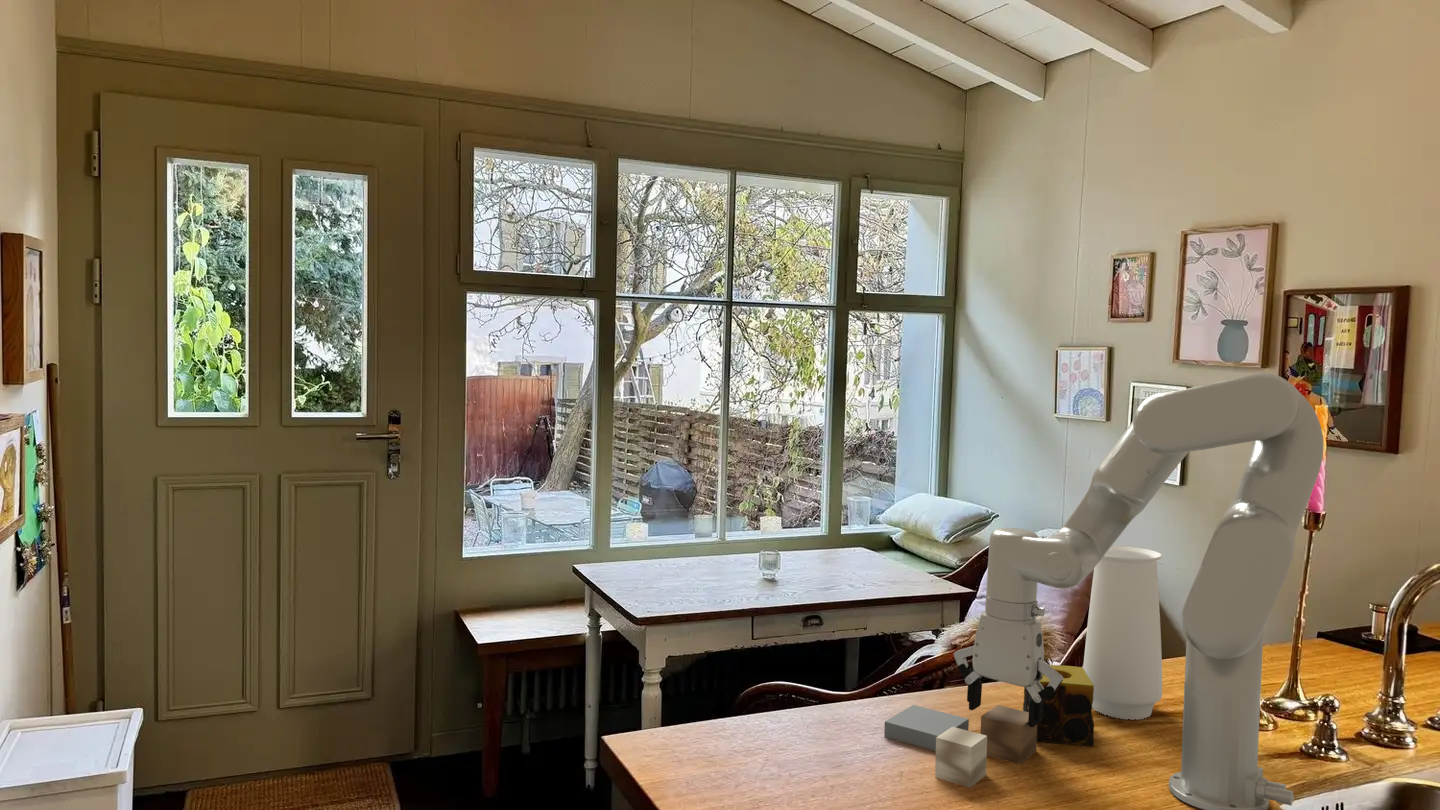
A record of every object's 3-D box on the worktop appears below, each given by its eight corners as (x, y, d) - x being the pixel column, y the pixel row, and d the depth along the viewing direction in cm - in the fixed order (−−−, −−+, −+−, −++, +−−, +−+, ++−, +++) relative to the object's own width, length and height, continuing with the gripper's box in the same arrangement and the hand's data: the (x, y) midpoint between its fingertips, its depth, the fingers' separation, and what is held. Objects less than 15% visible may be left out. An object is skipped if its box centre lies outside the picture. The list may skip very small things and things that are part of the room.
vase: (1170, 725, 165) (1176, 561, 164) (1090, 720, 167) (1095, 557, 166) (1149, 699, 178) (1154, 546, 176) (1075, 694, 180) (1079, 543, 178)
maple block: (986, 775, 145) (987, 735, 144) (970, 788, 140) (971, 747, 140) (951, 765, 148) (952, 726, 148) (935, 777, 144) (936, 737, 143)
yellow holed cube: (1094, 748, 155) (1096, 686, 155) (1028, 742, 157) (1029, 681, 157) (1083, 724, 165) (1085, 666, 165) (1021, 719, 167) (1023, 661, 167)
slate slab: (968, 733, 160) (968, 718, 160) (941, 752, 153) (941, 736, 152) (913, 719, 167) (913, 704, 166) (884, 736, 159) (884, 721, 159)
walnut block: (1036, 751, 154) (1037, 714, 153) (1020, 765, 148) (1021, 726, 148) (996, 741, 158) (997, 704, 157) (980, 754, 153) (981, 716, 152)
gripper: (1074, 615, 150) (1067, 724, 151) (968, 593, 160) (962, 695, 162) (1057, 625, 144) (1049, 738, 145) (948, 602, 154) (942, 707, 156)
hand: (1003, 716), depth 153 cm, fingers open, 9 cm apart
